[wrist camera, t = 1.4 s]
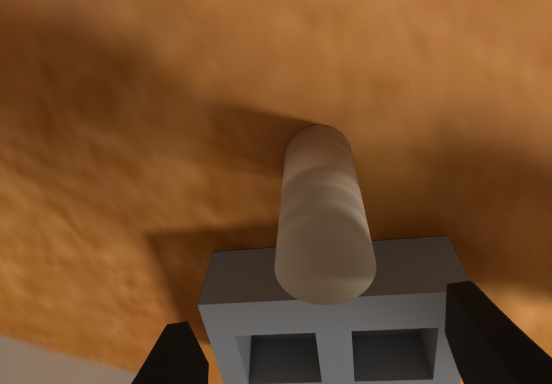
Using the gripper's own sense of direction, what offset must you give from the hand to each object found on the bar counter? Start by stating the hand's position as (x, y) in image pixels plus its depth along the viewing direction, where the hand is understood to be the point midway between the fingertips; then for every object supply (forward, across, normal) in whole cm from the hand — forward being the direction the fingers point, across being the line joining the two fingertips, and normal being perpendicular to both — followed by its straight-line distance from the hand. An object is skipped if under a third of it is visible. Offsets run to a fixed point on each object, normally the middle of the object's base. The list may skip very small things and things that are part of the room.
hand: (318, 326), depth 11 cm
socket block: (+10, 0, +10) cm, 14 cm away
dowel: (+10, -1, 0) cm, 10 cm away
